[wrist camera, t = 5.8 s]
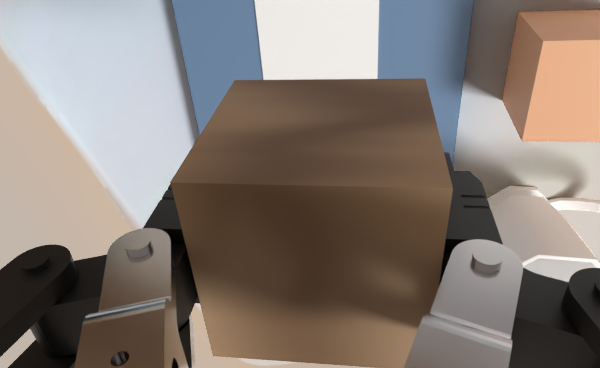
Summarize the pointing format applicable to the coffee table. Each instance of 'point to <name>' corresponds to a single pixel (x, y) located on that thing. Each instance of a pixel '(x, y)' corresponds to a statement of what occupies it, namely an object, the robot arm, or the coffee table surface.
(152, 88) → the coffee table surface
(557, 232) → the cup
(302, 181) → the walnut block
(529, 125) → the terracotta block
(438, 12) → the board
